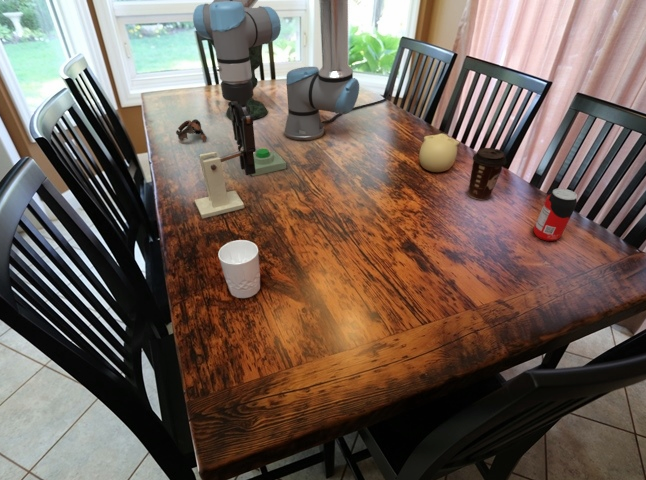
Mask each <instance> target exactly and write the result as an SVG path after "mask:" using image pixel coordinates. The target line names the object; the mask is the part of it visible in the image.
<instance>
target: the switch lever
mask: <svg viewBox="0 0 646 480" xmlns="http://www.w3.org/2000/svg"><path fill="white" fill-rule="evenodd" d="M241 151H243V146H242V147H241V149H240V151H239V150H237V151H235V152H232V153H229V154H225V155H222V156H218V157H219V158H220V160H221V163H223V162H227V161H229V160H232V159H236V158H240V157H239V156H243V154H242V153H241ZM213 158H215V157H214V156H211V157H208V158H205V159H203V160H208V159H213Z"/></svg>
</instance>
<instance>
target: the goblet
mask: <svg viewBox="0 0 646 480" xmlns="http://www.w3.org/2000/svg"><path fill="white" fill-rule="evenodd" d="M207 42H208V43H209V44H211V45H212V47H213V48H214V50H215V46H214V40H211V39H207ZM263 45H264V44H263ZM263 45H259V46H255V47H251V48H248V49H249V58H250V65H251V73H252V77H251V79H250V80H251V81H252V85H253V90H254V89H255V88H256V87H257V85H258V83H259V82H258V81H259V80H258V78H257V77H256V76H255V71H256V70H257V69H258V68H259V67H260V66H261V65H262V62H263V58H262V50H263ZM247 105H248V106H249V108H250V115H253V121H254V120H258V119H261V118H264V116H266V115H267V114H268V109H267V107H266V105H265V104H263V102H261V101H260V100H257V99H254V96H253V97H252V98H251V99H248V100H247ZM226 117H227V118H228V119H230V120H231V114H230V109H229V106H228V108H227V110H226Z"/></svg>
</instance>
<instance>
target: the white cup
mask: <svg viewBox="0 0 646 480" xmlns="http://www.w3.org/2000/svg"><path fill="white" fill-rule="evenodd" d="M217 256H218V259H219V264H220V266H221V270H222V274H223V276H224V279H225V282H226V284H227V288H228V291H229V293H230V295H231V296H233V297H235V298H237V299H248V298H251V297H253V296H256V294H258V292H259V291H260V289H261V267H260V256H259V247H258V245H257V244H256V243H254V242H252V241H251V240H246V239H236V240H231V241H229V242H227V243H225V244H224V245H222V246H221V247H220V248H219V251H218V254H217Z"/></svg>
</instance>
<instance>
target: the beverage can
mask: <svg viewBox="0 0 646 480" xmlns="http://www.w3.org/2000/svg"><path fill="white" fill-rule="evenodd" d="M577 198H578V195H577V193H576V192H574V191H573V190H572V189H571V190H570V189H568V188H560V187H559V188H555V189H553V190H552V192H551V193H549V194H548V195H547V197H546V199H545V201H544V204H543V206H542V208H541V210H540V213H539V214H538V217H537V218H536V219H537V220H536V221H535V224H534V227H533V233H534V234H535V236H536V237H537V238H539V239H540V240H542V241H546V242H553V241H557V240H559V239H560V238H561V237H562V235H563V233H564V231H565V229H566V227H567V225H568V223H569V221H570V219H571V217H572V215H573V213H574V210H576V207H577V205H578V200H577Z"/></svg>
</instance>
